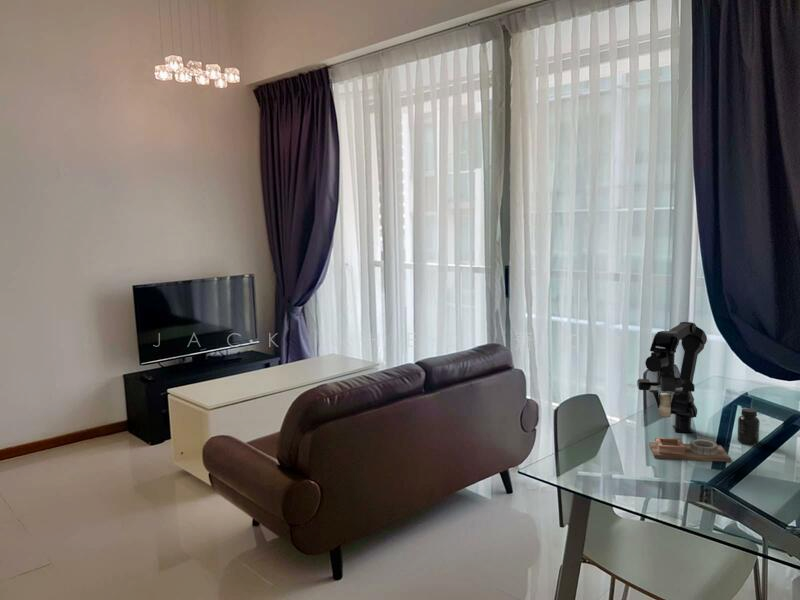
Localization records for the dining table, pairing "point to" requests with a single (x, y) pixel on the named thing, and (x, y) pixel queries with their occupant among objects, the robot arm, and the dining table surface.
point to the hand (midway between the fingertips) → (664, 407)
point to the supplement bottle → (748, 427)
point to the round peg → (664, 405)
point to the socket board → (688, 450)
